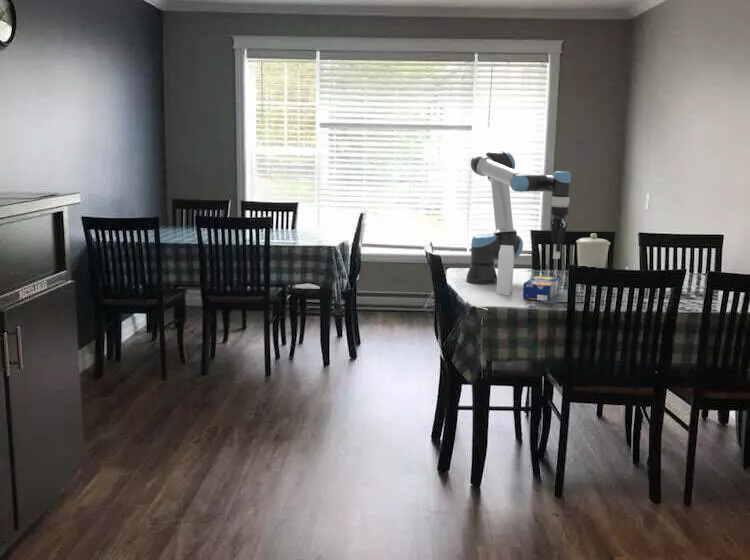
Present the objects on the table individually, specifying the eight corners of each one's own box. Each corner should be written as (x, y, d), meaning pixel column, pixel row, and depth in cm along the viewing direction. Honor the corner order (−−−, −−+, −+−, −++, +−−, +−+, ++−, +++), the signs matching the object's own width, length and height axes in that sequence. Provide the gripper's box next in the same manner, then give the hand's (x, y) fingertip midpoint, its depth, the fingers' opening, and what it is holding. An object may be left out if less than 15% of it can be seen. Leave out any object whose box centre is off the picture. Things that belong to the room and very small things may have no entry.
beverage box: (558, 292, 337) (547, 301, 318) (534, 290, 342) (522, 298, 322) (559, 278, 336) (548, 285, 317) (535, 275, 341) (523, 283, 321)
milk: (498, 291, 339) (501, 244, 335) (512, 293, 337) (514, 245, 333) (496, 294, 333) (498, 245, 330) (509, 295, 331) (512, 246, 328)
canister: (615, 273, 402) (618, 234, 398) (590, 275, 394) (593, 235, 390) (591, 268, 418) (594, 231, 414) (566, 269, 409) (569, 231, 406)
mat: (543, 303, 316) (544, 302, 316) (523, 292, 339) (523, 291, 339) (600, 302, 320) (600, 301, 320) (576, 292, 343) (576, 291, 343)
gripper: (574, 207, 325) (570, 260, 329) (561, 205, 337) (558, 256, 341) (558, 207, 323) (554, 260, 327) (546, 205, 336) (542, 256, 340)
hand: (556, 258), depth 334 cm, fingers closed
